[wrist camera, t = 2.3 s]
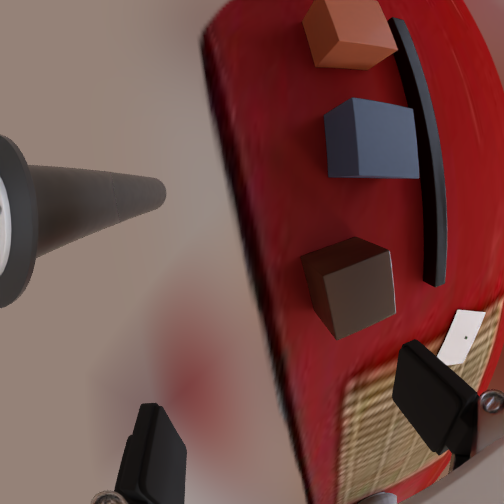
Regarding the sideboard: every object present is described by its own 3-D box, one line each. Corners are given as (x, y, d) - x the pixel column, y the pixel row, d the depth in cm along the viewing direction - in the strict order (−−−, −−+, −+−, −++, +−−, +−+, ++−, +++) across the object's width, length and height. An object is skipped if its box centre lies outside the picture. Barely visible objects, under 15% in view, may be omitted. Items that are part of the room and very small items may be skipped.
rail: (422, 281, 23) (435, 287, 21) (382, 24, 17) (392, 16, 15) (432, 277, 23) (445, 283, 21) (393, 27, 17) (404, 20, 15)
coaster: (431, 367, 26) (434, 370, 26) (457, 309, 25) (461, 312, 24) (462, 363, 28) (465, 365, 27) (485, 312, 26) (489, 314, 25)
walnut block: (314, 311, 22) (336, 341, 17) (300, 256, 21) (322, 276, 16) (365, 290, 22) (396, 313, 18) (356, 236, 21) (389, 250, 16)
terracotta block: (315, 67, 18) (339, 40, 13) (301, 21, 16) (319, -10, 12) (367, 70, 18) (398, 50, 13) (352, 26, 17) (378, 1, 12)
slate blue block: (328, 177, 20) (359, 175, 15) (323, 114, 19) (351, 96, 14) (381, 178, 20) (419, 178, 15) (377, 120, 19) (412, 108, 14)
